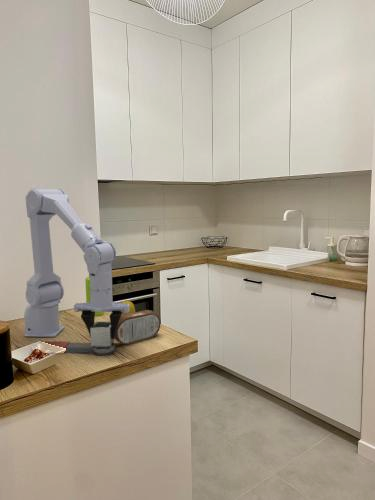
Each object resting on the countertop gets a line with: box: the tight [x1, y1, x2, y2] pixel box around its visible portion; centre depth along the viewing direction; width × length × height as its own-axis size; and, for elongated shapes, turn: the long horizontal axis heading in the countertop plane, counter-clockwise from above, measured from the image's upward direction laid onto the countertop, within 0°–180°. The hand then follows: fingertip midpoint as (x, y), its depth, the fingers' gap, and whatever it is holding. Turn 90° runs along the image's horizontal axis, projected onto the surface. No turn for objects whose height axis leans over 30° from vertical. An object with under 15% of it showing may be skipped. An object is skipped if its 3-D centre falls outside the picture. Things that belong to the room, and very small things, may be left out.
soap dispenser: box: [85, 272, 105, 317], centre depth 129 cm, size 6×7×20 cm
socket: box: [90, 320, 116, 346], centre depth 99 cm, size 5×5×5 cm
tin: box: [114, 309, 162, 345], centre depth 107 cm, size 15×3×8 cm, turn 126°
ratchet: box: [40, 340, 116, 357], centre depth 100 cm, size 21×6×4 cm, turn 88°
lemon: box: [121, 299, 136, 316], centre depth 121 cm, size 6×6×8 cm
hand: (102, 337), depth 99 cm, fingers closed on socket, 5 cm apart
